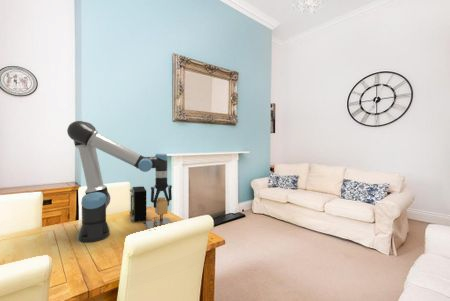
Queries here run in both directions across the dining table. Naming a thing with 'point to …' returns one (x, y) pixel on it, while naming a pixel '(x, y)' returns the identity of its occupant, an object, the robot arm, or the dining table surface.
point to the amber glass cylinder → (155, 221)
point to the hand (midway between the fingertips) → (161, 211)
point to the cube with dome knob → (162, 206)
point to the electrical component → (138, 204)
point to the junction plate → (151, 223)
